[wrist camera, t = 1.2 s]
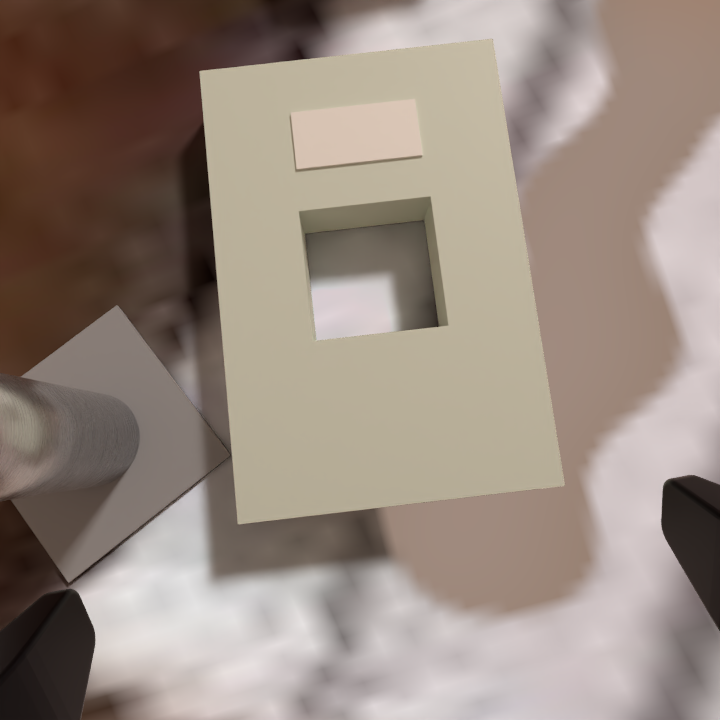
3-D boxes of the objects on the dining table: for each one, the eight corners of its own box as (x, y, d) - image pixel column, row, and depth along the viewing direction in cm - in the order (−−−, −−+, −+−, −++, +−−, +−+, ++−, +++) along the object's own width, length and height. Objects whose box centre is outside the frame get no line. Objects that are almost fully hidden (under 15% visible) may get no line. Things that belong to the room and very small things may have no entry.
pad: (71, 581, 24) (68, 583, 24) (-39, 424, 25) (-43, 424, 25) (231, 455, 25) (229, 455, 24) (118, 306, 25) (116, 305, 25)
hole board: (544, 481, 24) (565, 486, 22) (250, 516, 24) (237, 524, 22) (480, 76, 27) (493, 37, 24) (214, 105, 27) (198, 69, 24)
